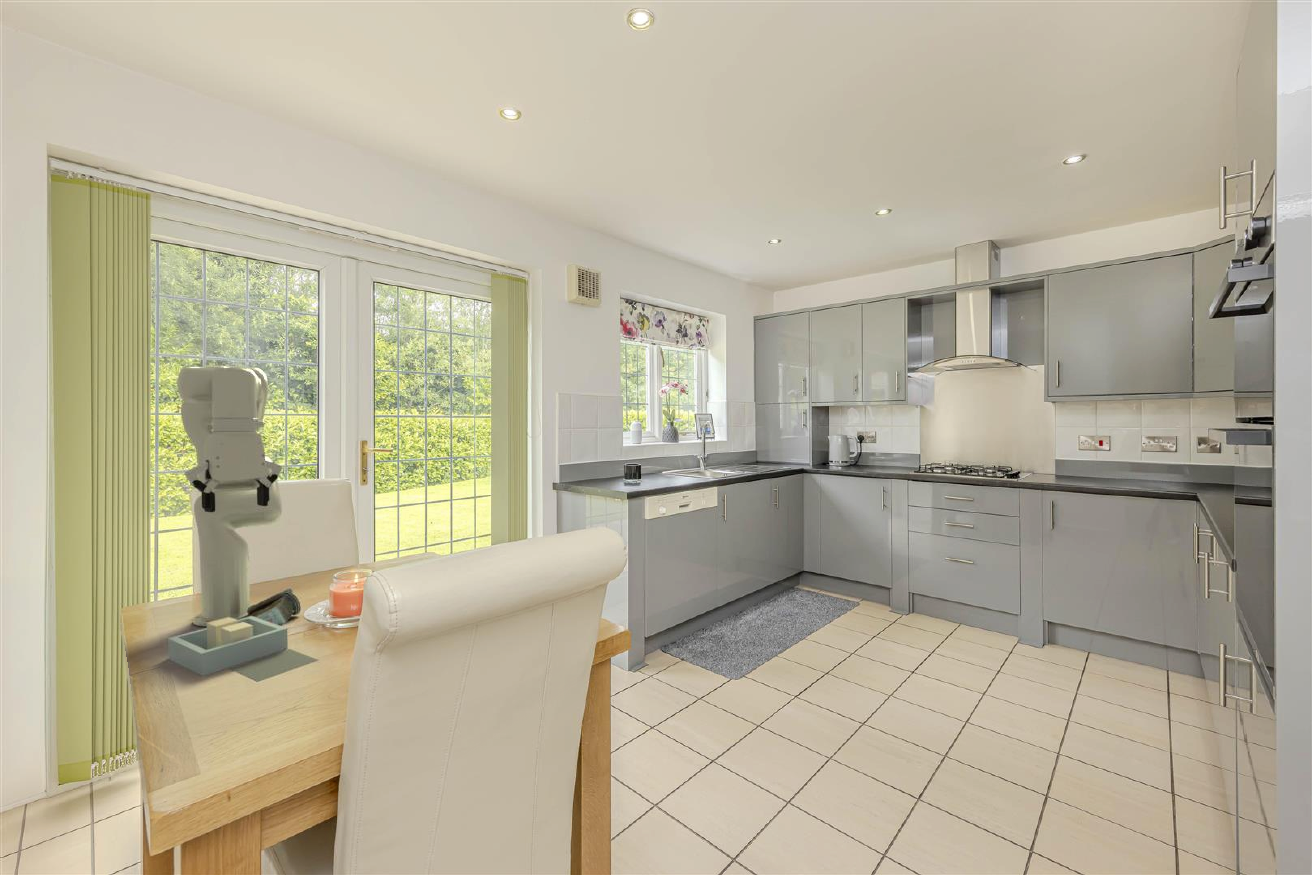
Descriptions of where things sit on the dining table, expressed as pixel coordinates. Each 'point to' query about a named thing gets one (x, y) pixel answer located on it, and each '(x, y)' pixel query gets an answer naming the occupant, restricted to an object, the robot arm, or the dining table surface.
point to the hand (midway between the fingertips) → (237, 508)
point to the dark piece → (276, 608)
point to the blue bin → (226, 647)
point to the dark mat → (273, 664)
